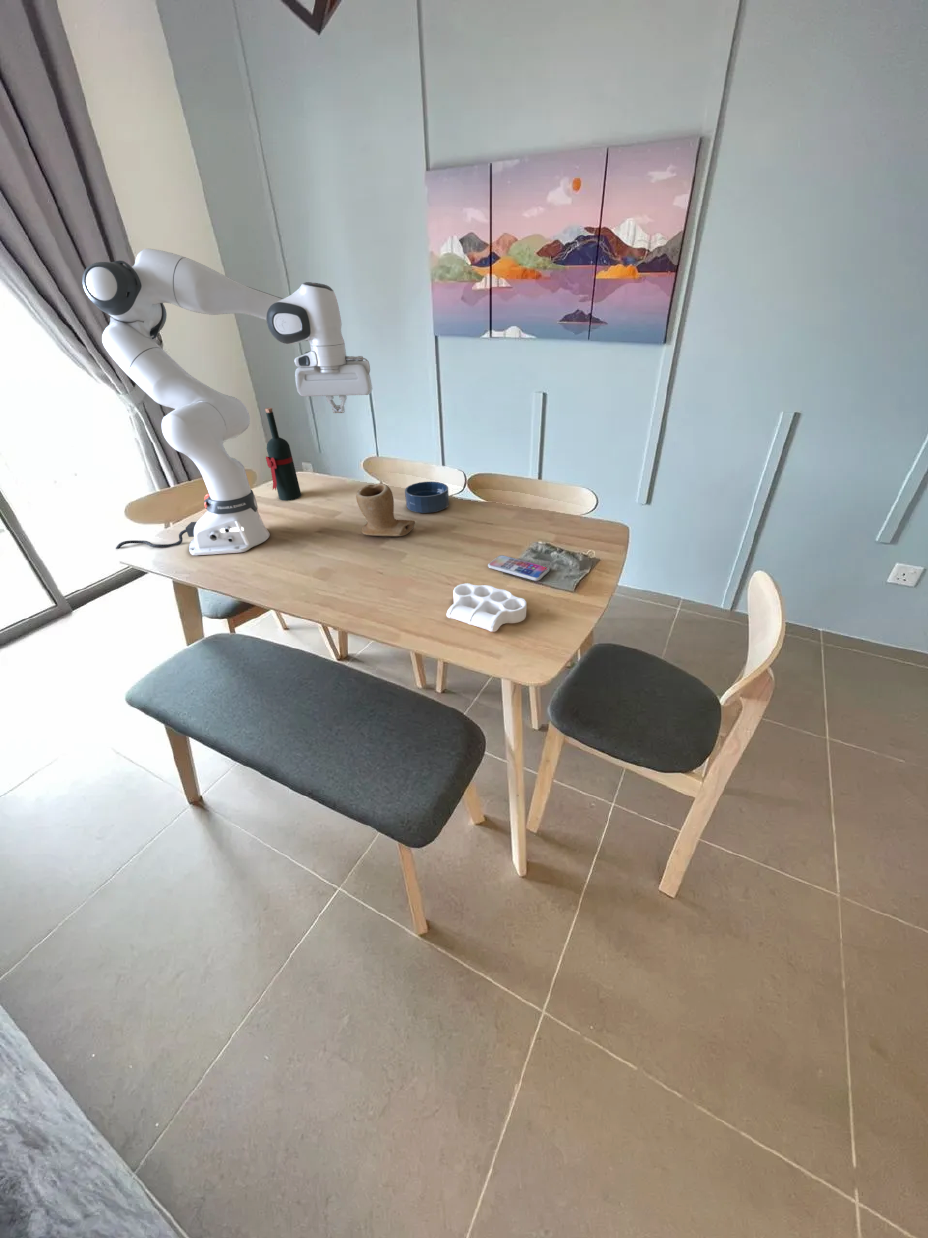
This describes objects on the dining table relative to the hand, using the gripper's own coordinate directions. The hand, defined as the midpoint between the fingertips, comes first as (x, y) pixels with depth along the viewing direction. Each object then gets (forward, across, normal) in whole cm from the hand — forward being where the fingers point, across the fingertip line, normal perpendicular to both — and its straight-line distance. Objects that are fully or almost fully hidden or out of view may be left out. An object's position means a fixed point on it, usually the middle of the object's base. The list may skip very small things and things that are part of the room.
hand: (339, 412), depth 137 cm
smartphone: (+33, -50, +30) cm, 67 cm away
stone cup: (+33, -11, +8) cm, 36 cm away
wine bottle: (+33, +32, -22) cm, 51 cm away
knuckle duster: (+33, -42, +50) cm, 73 cm away
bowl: (+33, -21, -14) cm, 41 cm away
